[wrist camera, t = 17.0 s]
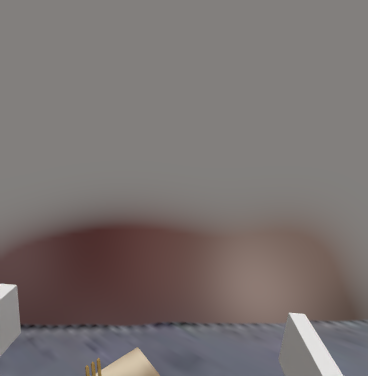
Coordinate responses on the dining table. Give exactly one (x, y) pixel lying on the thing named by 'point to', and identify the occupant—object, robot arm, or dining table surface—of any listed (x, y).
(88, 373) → the utensil holder
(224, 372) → the dining table surface
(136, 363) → the ring collar board
